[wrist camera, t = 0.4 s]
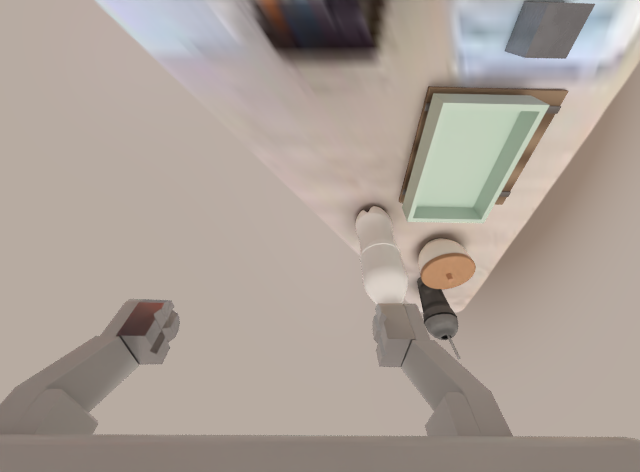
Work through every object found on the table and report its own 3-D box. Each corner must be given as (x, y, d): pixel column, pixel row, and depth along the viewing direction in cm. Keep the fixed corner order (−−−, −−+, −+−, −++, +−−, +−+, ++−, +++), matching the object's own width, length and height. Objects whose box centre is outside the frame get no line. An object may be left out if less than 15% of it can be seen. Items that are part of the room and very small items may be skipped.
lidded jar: (428, 269, 67) (440, 301, 60) (403, 248, 62) (413, 280, 55) (470, 247, 61) (488, 280, 54) (446, 222, 56) (463, 254, 49)
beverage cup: (417, 270, 67) (444, 349, 52) (445, 272, 67) (479, 351, 53) (407, 288, 72) (429, 364, 57) (434, 290, 72) (462, 366, 57)
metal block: (523, 1, 33) (549, 2, 29) (564, 2, 33) (595, 4, 29) (504, 50, 36) (524, 57, 32) (541, 51, 36) (565, 58, 32)
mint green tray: (430, 91, 38) (443, 102, 34) (525, 93, 38) (549, 105, 34) (400, 203, 51) (407, 221, 47) (471, 204, 51) (483, 223, 47)
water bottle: (396, 216, 55) (432, 329, 37) (368, 234, 59) (388, 345, 40) (375, 196, 52) (403, 308, 34) (347, 216, 55) (358, 328, 37)
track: (428, 86, 39) (430, 88, 38) (564, 89, 39) (569, 91, 38) (398, 200, 53) (400, 203, 52) (500, 202, 53) (503, 205, 52)
